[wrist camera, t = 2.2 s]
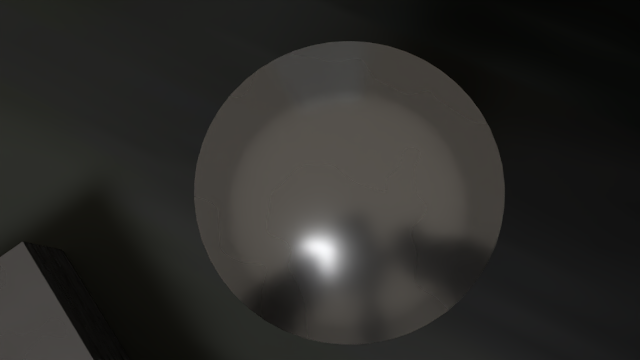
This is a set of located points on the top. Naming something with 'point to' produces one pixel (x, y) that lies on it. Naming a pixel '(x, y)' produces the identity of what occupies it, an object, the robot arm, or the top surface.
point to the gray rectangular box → (49, 310)
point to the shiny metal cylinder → (349, 192)
